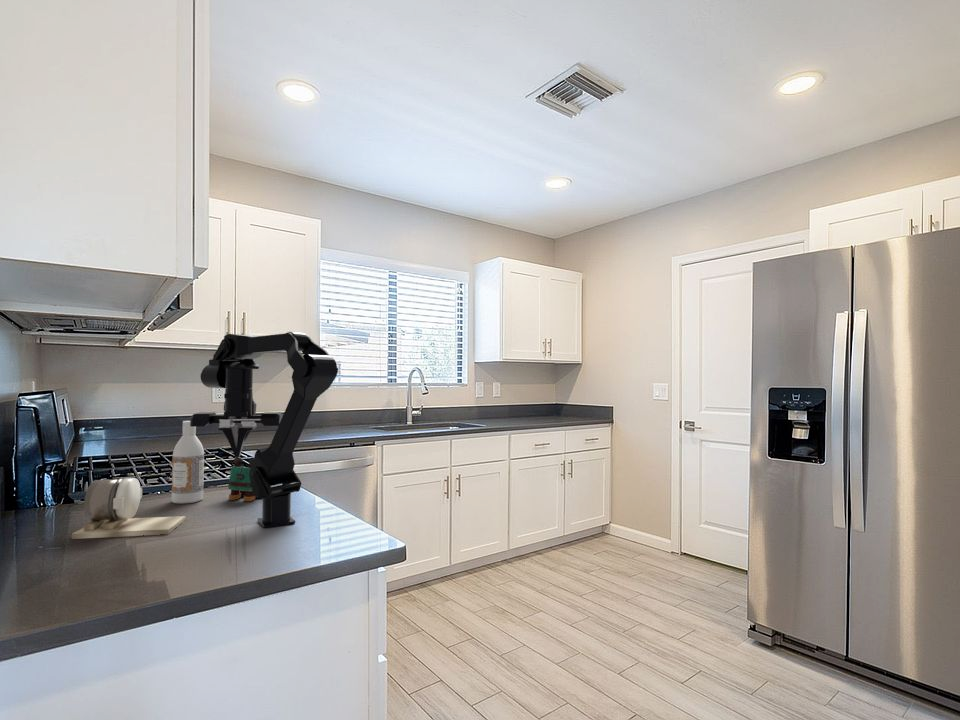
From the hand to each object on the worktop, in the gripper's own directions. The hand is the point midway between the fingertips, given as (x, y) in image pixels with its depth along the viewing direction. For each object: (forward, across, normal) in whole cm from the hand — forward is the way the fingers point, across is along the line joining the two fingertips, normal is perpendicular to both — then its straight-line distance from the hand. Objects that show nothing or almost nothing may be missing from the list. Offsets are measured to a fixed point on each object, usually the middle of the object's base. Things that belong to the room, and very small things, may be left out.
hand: (237, 457), depth 122 cm
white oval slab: (+11, +19, +9) cm, 23 cm away
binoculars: (+13, 0, -17) cm, 22 cm away
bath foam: (+13, +15, -16) cm, 25 cm away
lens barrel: (+11, +22, +9) cm, 27 cm away
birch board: (+13, +18, +9) cm, 24 cm away
